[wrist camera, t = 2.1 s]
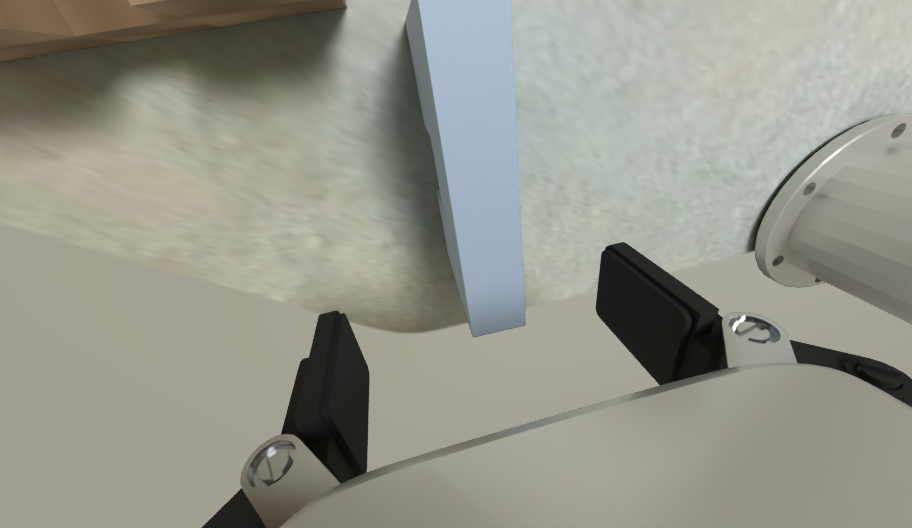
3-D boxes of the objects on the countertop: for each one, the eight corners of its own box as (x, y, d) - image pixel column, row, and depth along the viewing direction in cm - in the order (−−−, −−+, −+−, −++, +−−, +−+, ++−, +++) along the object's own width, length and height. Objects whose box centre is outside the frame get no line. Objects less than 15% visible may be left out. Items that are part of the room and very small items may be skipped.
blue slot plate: (405, 21, 15) (415, -16, 8) (458, 12, 15) (509, -30, 8) (448, 255, 21) (472, 337, 14) (485, 247, 21) (525, 325, 15)
